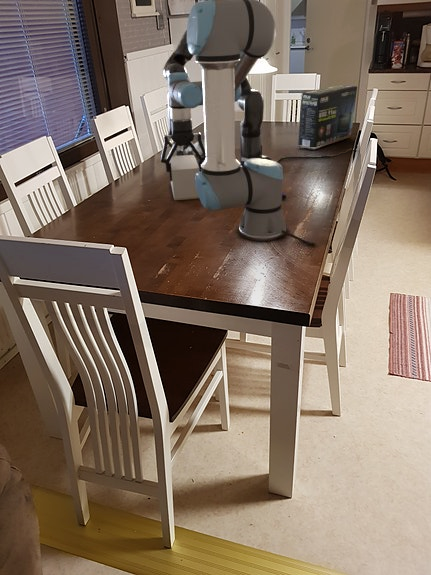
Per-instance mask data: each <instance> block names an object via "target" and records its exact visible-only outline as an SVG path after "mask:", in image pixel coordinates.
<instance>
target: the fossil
mask: <svg viewBox="0 0 431 575" xmlns="http://www.w3.org/2000/svg"><path fill="white" fill-rule="evenodd" d="M201 141H202V143H203V146H204V149H205V137H201ZM193 145H194V146H195V148H196V149H197V151H198V152H199V154H200V155H201V156H203V153H202V150H201V148H200V145H199V142H198V141H196V142H195V143H193ZM184 151H185V153H186V154H187V155H194V156H197V155H196V154H195V153H194V151H193V150H192V148H191V147H190V146H189V147H188V148H187V149H185V150H184ZM205 151H206V150H205Z"/></svg>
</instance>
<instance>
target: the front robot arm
mask: <svg viewBox="0 0 431 575" xmlns="http://www.w3.org/2000/svg"><path fill="white" fill-rule="evenodd" d="M187 18H188V19H187V25H186V30H187V43H188V50H189V52H190V53H191V54H192V55H194V57H195V63H196V65H198V66H199V67H200V69H201V80H199V81H191V80H190V74H189V73H188V72H186V73H183V72H179V73H171V74H169V75H168V80H167V87H168V91H169V100H170V113H171V119H172V121H171V125H172V134H171V135H168V134H164V135H163V140H164V142H163V146H162V151H161V156H160V163H162V164H165V170H166V173H169V181H170V182H171V181H172V171H171V162H170V160H171V158H172V156H174V154H175V152H176V148H177V147H178V146H179V147H180V146H188V145H189V146H190V147H191V148H192V150H193V151H194V153H195V154H196V155H195V154H194V155H195V156H196V157H197V158H198V159H197V164H198V166H199V171H200V172H198V173H196V175H195V183H196V189H197V192H198V196H199V198H198V199H199V201H200V203H201V205H202V206H203V208H204V209H205V210H207V211H222V210H226V209H231V208H238V207H244V211H243V213H242V215H241V217H240V222H239V226H238V232H239V235H240V236H241V237H242V238H244V239H247V240H250V241H254V242H271V241H277V240H279V239H281V238H283V237H285V235H286V236H289V237H291V238H293V239H295V240H297V241H299V242H301V243H304V244H305V245H306V244H307V245H309V246H316V242H313V241H308V240H306V239H303V238H301V237H299V236H297V235H295V234H293V233H290V232H288V231H287V223H286V221H285V216H284V214H283V210H282V200H283V199H282V192H283V183H284V174H283V173H284V172H283V171H284V170H283V166H282V164H280V163H279V162H278V163H277V162H276V161H275V160H273V159H272V160H267V159H259V158H252V159H248V160H245V163H244V166H243V167H241V161H239V160H238V159H237V158H236V111H235V110H236V107H235V106H236V103H237V101H238V100H239V99H240V95H241V83H242V82H243V81H244V79H245V78H246V76H247V77H248V75H249V74H250V72H251V71H252V69H253V68H254V67H255V65H256V63H258V60H259V59H261V58H264V57H265V56H266V55H267V54H268V53H269V51H270V50H271V49H272V47H273V46H274V43H275V41H276V40H275V39H276V36H277V26H276V20H275V18H274V15H273V14H272V11H271V10H270V9H269V8H268V6H266V5H265V4H264V3H263V2H261V1H259V0H207V1H201V0H200V1H197V2H195V3H194V4H193V5H192V7H191V8H190V12H189V15H188V17H187ZM199 106H203V124H204V138H205V149H204V146H203V143H202V141H201V138H202V134H201V132H197V133H194V131H193V120H192V118H193V117H192V109H195V108H197V107H199ZM193 137H194V139H195V140H196V141H197V142H199V145H200V148H201V150H202V153H203V155H200V154H199V152H198V151H197V149H196V148H195V146H194V143H193V141H192V139H193ZM171 138H172V139H173V140H172V139H171ZM194 139H193V140H194ZM171 140H172V142H173V143H172V144H173V146H172V148H171V147H170V150H169V152H168V154H167V151H168V147H169V145H168V142H169V141H170V142H171ZM191 141H192V142H191ZM205 150H206V151H205ZM166 154H167V156H166Z"/></svg>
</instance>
